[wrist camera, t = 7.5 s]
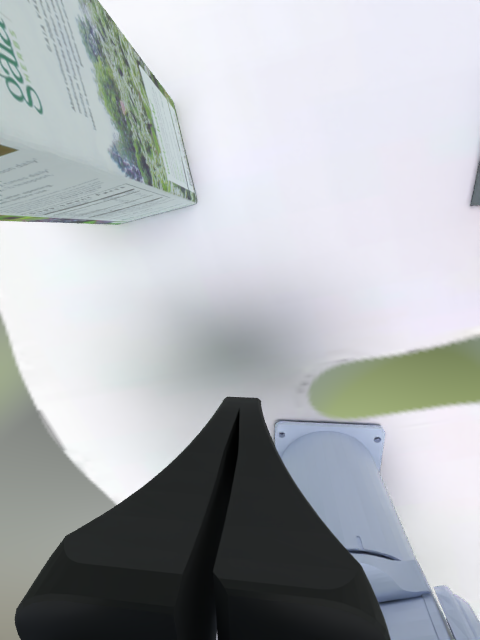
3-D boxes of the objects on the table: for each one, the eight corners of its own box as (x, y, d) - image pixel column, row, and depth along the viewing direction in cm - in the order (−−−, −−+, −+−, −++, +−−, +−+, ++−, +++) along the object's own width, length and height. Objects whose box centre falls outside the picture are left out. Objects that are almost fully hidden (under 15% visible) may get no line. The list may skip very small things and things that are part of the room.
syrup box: (87, 128, 17) (-649, -262, 3) (178, 99, 16) (-353, -616, 2) (118, 225, 19) (-300, 220, 5) (203, 204, 18) (-34, 126, 4)
